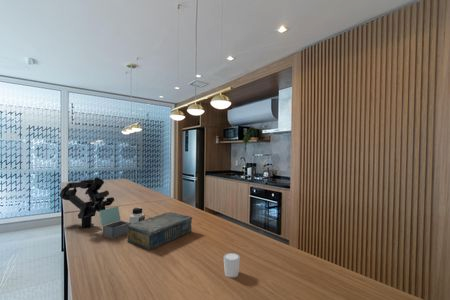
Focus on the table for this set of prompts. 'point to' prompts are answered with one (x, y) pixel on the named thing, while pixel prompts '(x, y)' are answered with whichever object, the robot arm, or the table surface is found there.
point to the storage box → (115, 229)
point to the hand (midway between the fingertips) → (104, 214)
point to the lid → (109, 215)
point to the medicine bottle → (137, 215)
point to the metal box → (158, 230)
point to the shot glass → (231, 264)
